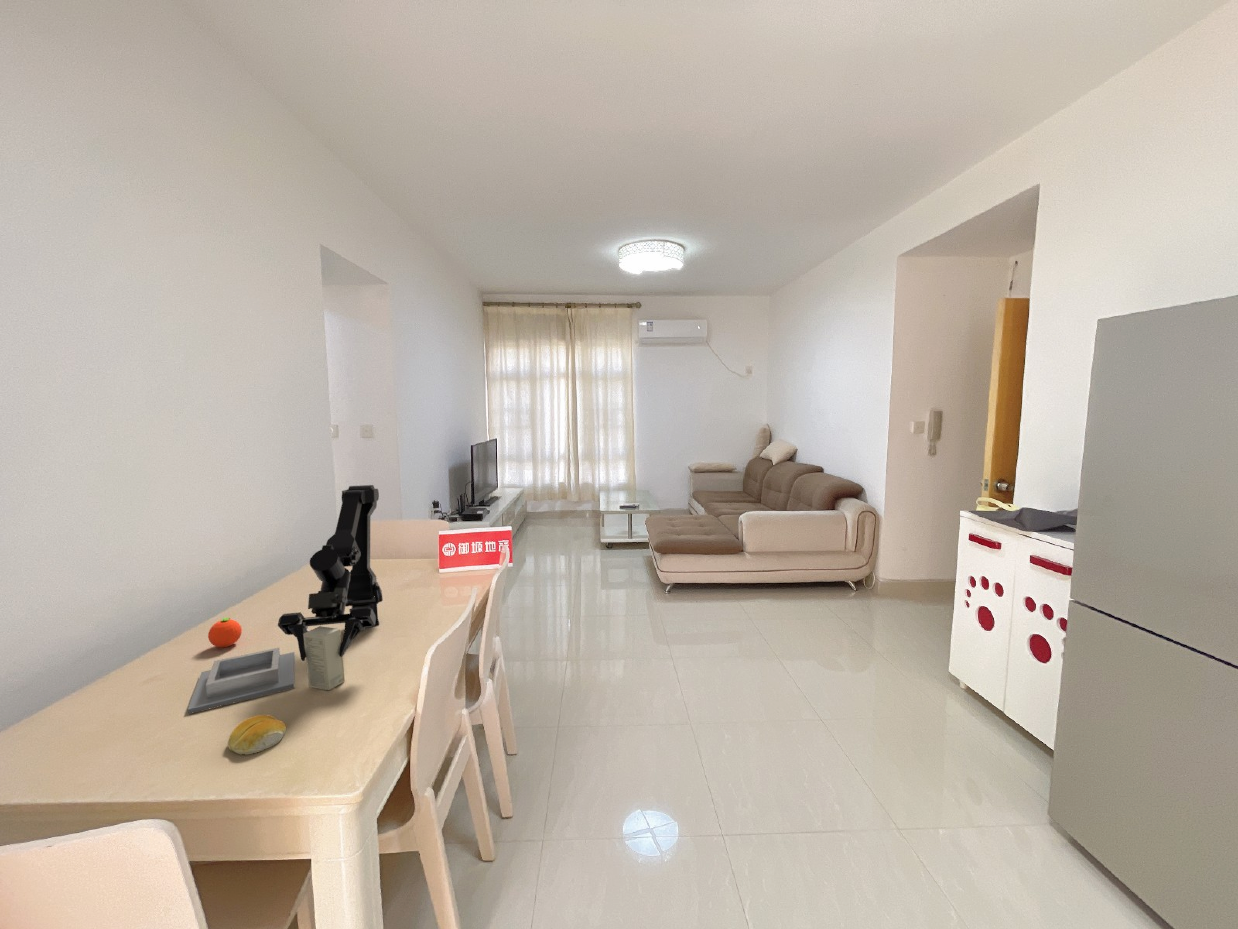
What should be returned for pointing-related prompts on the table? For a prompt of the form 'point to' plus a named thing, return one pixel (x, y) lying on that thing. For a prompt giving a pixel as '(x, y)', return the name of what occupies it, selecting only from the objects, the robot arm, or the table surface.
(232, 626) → the clementine
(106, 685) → the table surface
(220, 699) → the port base
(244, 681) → the port collar
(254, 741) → the bread roll
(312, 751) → the table surface
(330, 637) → the skincare box
